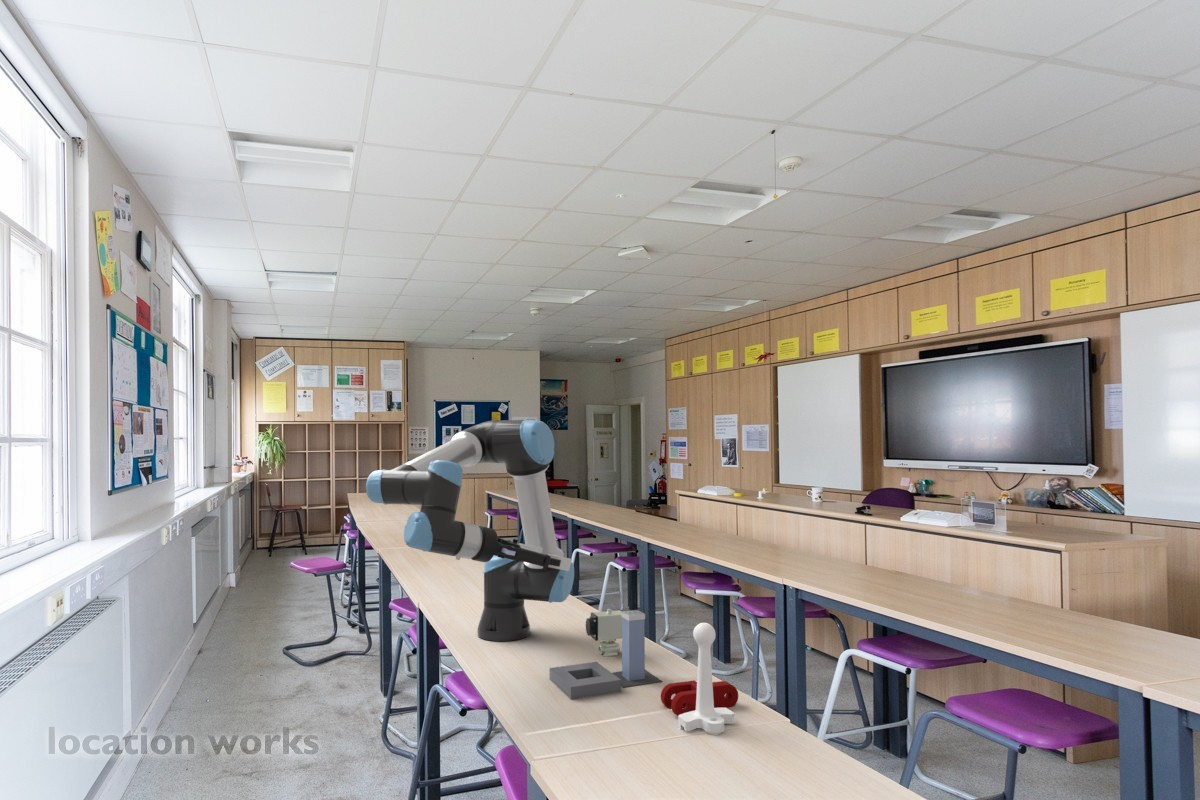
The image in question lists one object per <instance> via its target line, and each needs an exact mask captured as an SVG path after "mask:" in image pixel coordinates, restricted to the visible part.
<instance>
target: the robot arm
mask: <svg viewBox="0 0 1200 800" xmlns="http://www.w3.org/2000/svg"><path fill="white" fill-rule="evenodd" d="M554 456H555V438H554V435H553V432H552V430H551V429H550V427H549V426H548V424H546V423H545V422H544V421H541V420H536V419H534V420H533V419H508V420H507V419H505V420H503V419H502V420H499V419H497V420H496V419H494V420H487V421H484V422H481V423H479V424H475V425H472V426H470V427H467V428H465V429H463V430H461V431H459V432H457V433H456V434H454V435H453V436H452V438H451V440H449V441H446V443H443V444H442V445H439V446H437V447H436V448H434V449H431V450H429V451H427V452H425V453H423V454H422V455H420V456H417V457H416V458H414V459H411V460H409V461H406V462H405V463H403V464H401V465H398V466H397V467H395V468H392V469H386V468H385V469H379V470H378V469H377V470H374V471H372V472H371V473H370V474H369V475H368V476H367V479H366V483H365V489H366V490H365V491H366V495H367V498H368V499H369V500H370V501H371V502H372V503H376V504H383V505H407V506H409V505H410V506H411V505H413V506H414V505H416V506H420V511H415V512H413V513H412V512H411V514H410V515H409V516H408V517H407V520H406V524H405V526H404V529H403V540H404V543H405V545H406V546H408V547H409V548H411V549H415V550H419V551H423V552H429V553H431V554H432V553H433V554H439V555H444V556H449V557H455V560H456V561H459V560H461V558H463V559H467V560H471V561H475V562H481V563H484V568H483V609H482V612H481V616H480V619H479V622H478V626H477V637H478V638H480V639H483V640H485V641H493V642H509V641H516V640H521V639H524V638H526V637H528V636H530V634H531V624H530V621H529V618H528V615H527V611H526V609H525V608H526V607H525V601H537V602H548V603H550V604H551V603H563V602H564V601H565V600H567V598H568V597H569V596H570V594H571V591H572V589H573V584H574V582H575V581H574V579H575V566H574V563H573V562H572V561H573V559H572V558H569V557H565V555H564V551H563V550H562V549H561V548H559V547H558V545H557V544H558V542H557V539H556V532H555V525H554V520H553V514H552V509H551V508H552V507H551V501H550V497H549V490H548V483H547V478H546V471H547V470H548V468H549V467H550V463H551V462H552V461H553V459H554ZM486 463H487V464H494V463H495V464H504V465H505V469H506V473H507V475H509V476H510V477H512V479H513V482H514V486H515V487H514V488H515V492H516V497H517V498H516V500H517V503H518V509H519V516H520V521H521V526H522V532H523V538H524V543H520V542H519V540H518V539H517V538H513V539H512V540H510V539H504V538H501V537H498V533H497V531H496V530H495V529H494V528H490V527H487V526H483V525H480V526H479V525H478V524H473V523H469V522H465V521H459V520H456V515H457V508H458V503H459V499H460V493H461V488H462V486H463V485H462V483H463V473H464V469H463V468H465V467H466V468H469V467H474V466H475V465H477V464H486Z"/></svg>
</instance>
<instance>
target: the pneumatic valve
mask: <svg viewBox="0 0 1200 800" xmlns="http://www.w3.org/2000/svg"><path fill="white" fill-rule="evenodd" d="M623 611H624V610H622V609H619V610H618V609H617V610H612V609H611V608H607V610H606V611H596V612H595V611H593V612H590V616H589V617H587V618H586V620H585V632H586V635H587V636H589V637H591V638H592V639H593V640H594V641H595V642H600V641H601V642H600V644H599V645H598V654H599V655H602V657H613V656H618V655H619V654H618V653H620V651H621V647H620V643H617V642H616V641H617V640H619V639H620V640H622V617H621V612H623Z"/></svg>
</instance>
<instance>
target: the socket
mask: <svg viewBox="0 0 1200 800" xmlns="http://www.w3.org/2000/svg"><path fill="white" fill-rule="evenodd" d="M549 681H550V682H551V683H553V684H554V685H555V686H556V687H557V688H558V689H559V691H561V692H562V693H563V694H564V695H565V696H566V697H567V698H569V700H577V699H583V698H589V697H597V696H603V695H609V694H615V693H620V692H622V687H621V679H619V678H618V677H617V676H615V675H614V674H613V672H611V671H610V670H608V668H606V667H604V666H603V665H602V664H600V663H599V662H597V661H591V662H585V663H577V664H570V665H562V666H555V667H549Z"/></svg>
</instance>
